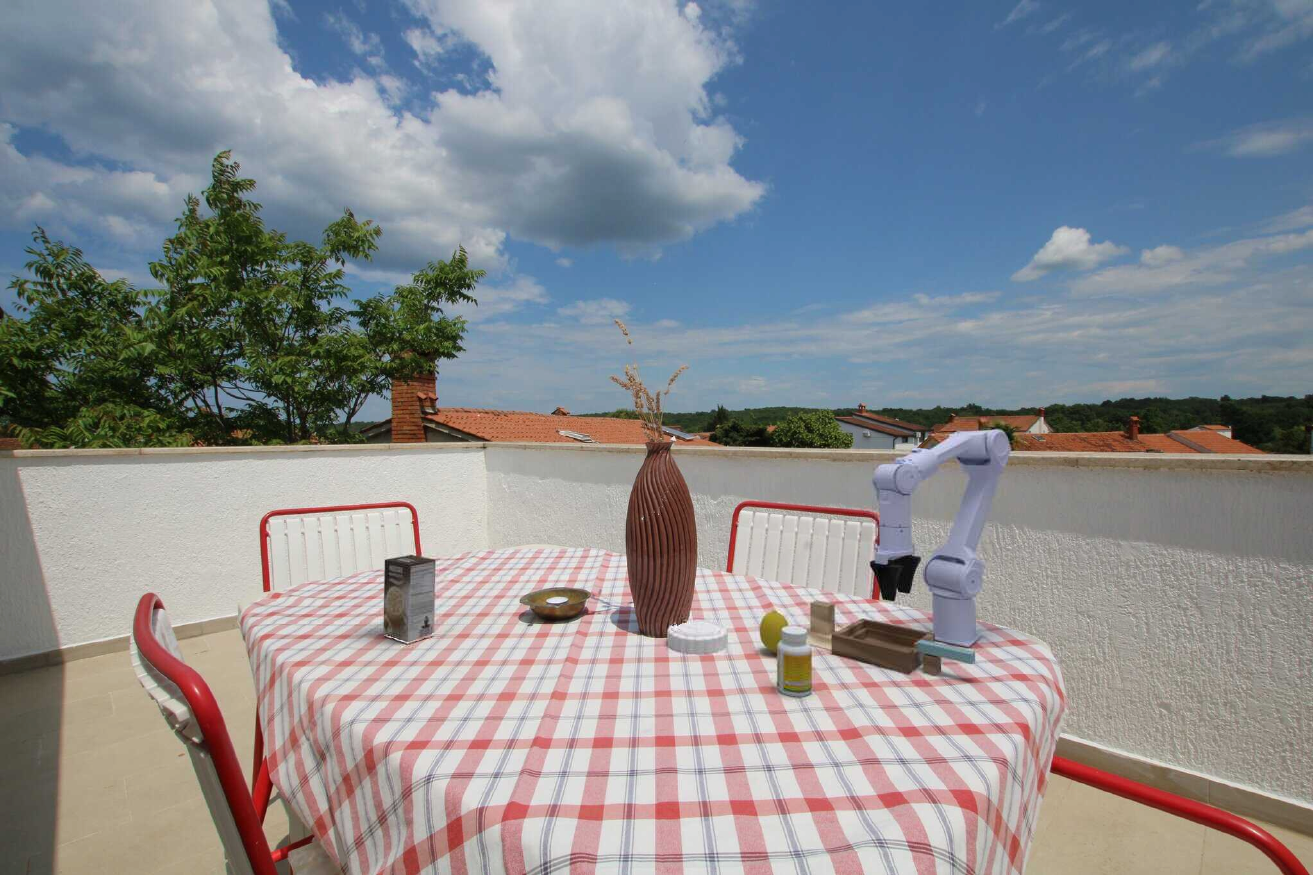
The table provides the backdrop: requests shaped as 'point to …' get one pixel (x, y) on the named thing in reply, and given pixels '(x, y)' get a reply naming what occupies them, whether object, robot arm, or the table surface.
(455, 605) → the table surface
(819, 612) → the lid
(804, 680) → the supplement bottle
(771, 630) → the lemon
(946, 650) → the rectangular block
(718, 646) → the mooncake
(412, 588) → the coffee box
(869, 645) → the tray
